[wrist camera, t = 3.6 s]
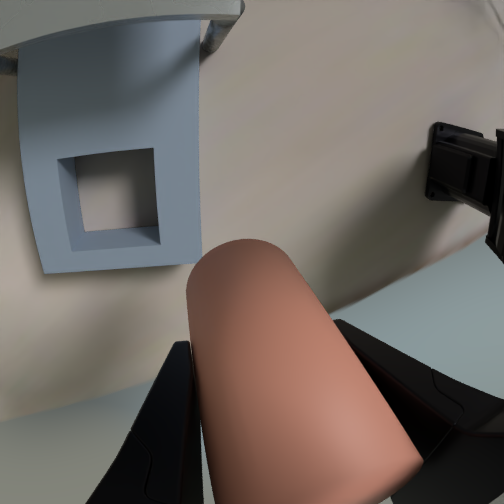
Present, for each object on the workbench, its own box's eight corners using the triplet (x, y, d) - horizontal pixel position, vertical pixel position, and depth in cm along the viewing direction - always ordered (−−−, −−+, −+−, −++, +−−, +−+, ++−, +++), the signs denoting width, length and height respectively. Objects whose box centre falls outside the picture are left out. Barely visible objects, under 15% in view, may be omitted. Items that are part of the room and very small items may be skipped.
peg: (300, 233, 11) (457, 426, 4) (293, 326, 13) (385, 505, 6) (179, 245, 10) (209, 507, 3) (192, 340, 12) (228, 549, 5)
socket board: (200, -30, 13) (204, -50, 11) (199, 241, 21) (202, 262, 18) (45, -8, 11) (27, -21, 9) (58, 252, 19) (44, 273, 16)
